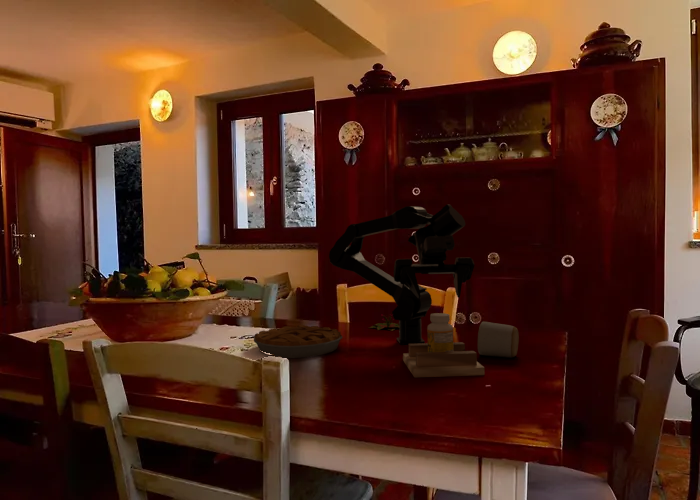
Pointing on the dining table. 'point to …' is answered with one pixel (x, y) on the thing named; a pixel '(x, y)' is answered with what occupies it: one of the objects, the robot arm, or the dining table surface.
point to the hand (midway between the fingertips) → (439, 297)
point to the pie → (298, 341)
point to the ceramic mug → (497, 340)
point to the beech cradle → (442, 361)
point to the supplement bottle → (440, 333)
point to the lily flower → (386, 324)
